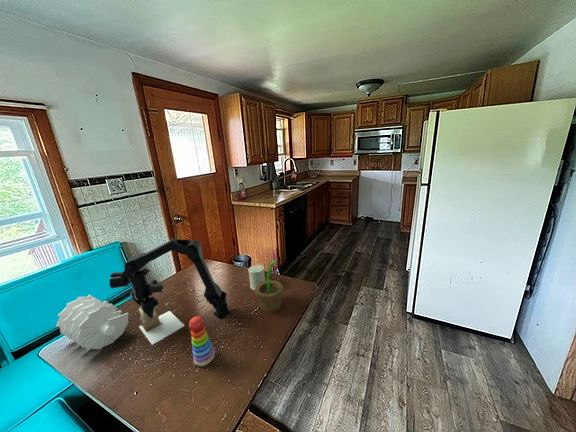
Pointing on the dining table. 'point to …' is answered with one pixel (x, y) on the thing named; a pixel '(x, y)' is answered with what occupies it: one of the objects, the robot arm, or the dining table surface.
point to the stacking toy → (200, 342)
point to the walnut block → (150, 323)
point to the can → (256, 275)
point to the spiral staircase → (92, 322)
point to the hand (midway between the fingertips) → (148, 313)
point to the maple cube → (145, 316)
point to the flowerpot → (270, 292)
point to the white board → (163, 328)
